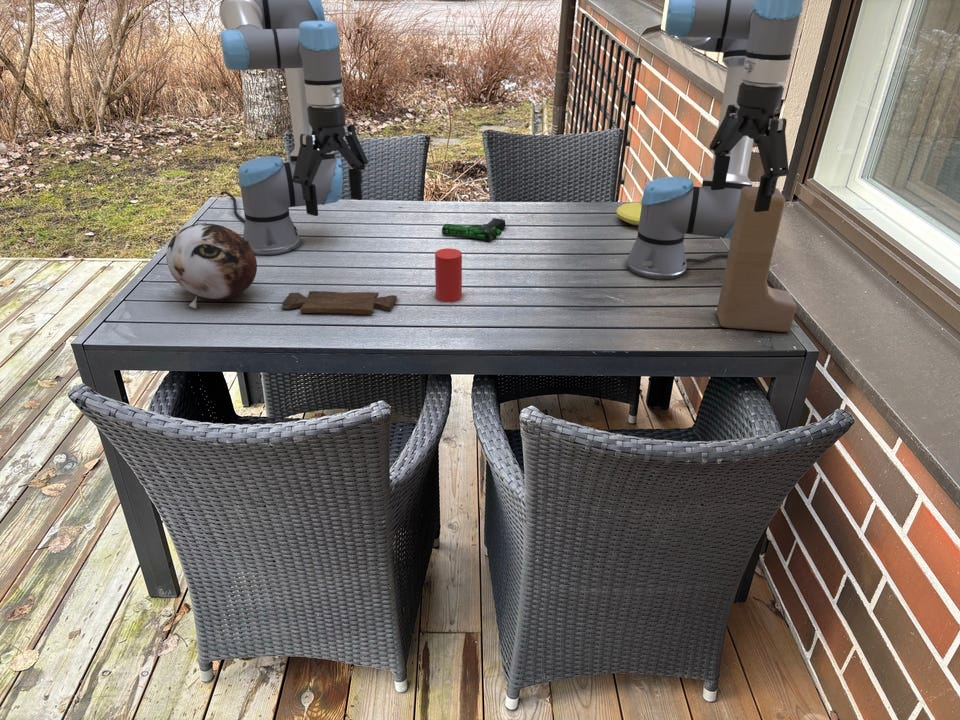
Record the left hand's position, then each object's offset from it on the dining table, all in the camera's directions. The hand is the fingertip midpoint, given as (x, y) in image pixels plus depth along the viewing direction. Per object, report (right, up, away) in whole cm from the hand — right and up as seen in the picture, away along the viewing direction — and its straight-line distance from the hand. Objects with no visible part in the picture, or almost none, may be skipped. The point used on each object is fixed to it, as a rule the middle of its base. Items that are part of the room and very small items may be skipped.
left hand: (335, 206), depth 156 cm
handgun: (+31, +4, +52) cm, 60 cm away
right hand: (+82, -3, -19) cm, 84 cm away
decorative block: (+93, -25, +5) cm, 96 cm away
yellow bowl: (+81, +8, +61) cm, 101 cm away
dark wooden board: (-1, -21, +9) cm, 23 cm away
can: (+24, -18, +15) cm, 34 cm away
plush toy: (-30, -18, +13) cm, 38 cm away
